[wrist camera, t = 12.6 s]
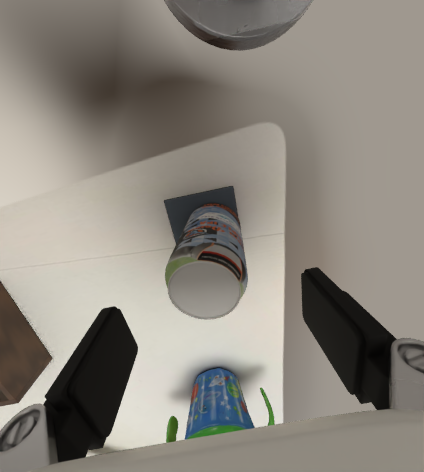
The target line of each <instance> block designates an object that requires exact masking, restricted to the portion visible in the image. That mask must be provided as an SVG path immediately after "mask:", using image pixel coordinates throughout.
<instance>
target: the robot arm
mask: <svg viewBox="0 0 424 472" xmlns="http://www.w3.org/2000/svg"><path fill="white" fill-rule="evenodd" d="M301 282H302V311H303V318H304V321H305V323H306V324H307V326H308V327H309V329H310V331H311V332H312V334H313V335H314V337H315V339H316V340H317V342H318V343H319V345H320V347H321V348H322V350H323V351H324V353H325V355H326V356H327V358H328V360H329V361H330V363H331V364H332V366H333V368H334V369H335V371H336V372H337V374H338V376H339V377H340V379H341V381H342V382H343V384H344V385H345V387H346V389H347V390H348V392H349V393H350V394H352V395H353V394H355V396H356V397H357V399H358V400H359V402H360V403H361V404H363V403H369V402H372V404H373V405H374V406H375V408H376V409H377V410H375V411H362V412H355V413H348V414H341V415H335V416H327V417H320V418H314V419H308V420H301V421H295V422H289V423H282V424H276V425H270V426H264V427H258V428H252V429H246V430H240V431H234V432H228V433H222V434H216V435H210V436H204V437H198V438H192V439H186V440H180V441H175V442H169V443H163V444H157V445H151V446H146V447H140V448H134V449H129V450H123V451H117V452H112V453H106V454H100V455H95V456H90V457H86V454H87V452H88V449H89V450H93V449H99V448H103V446H104V443H105V440H106V437H108V436H109V435H110V433H111V431H112V428H113V425H114V422H115V419H116V416H117V413H118V410H119V407H120V404H121V401H122V398H123V395H124V392H125V389H126V386H127V383H128V380H129V377H130V374H131V371H132V368H133V364H134V361H135V358H136V355H137V352H138V346H137V343H136V341H135V339H134V337H133V335H132V333H131V331H130V329H129V327H128V325H127V323H126V320H125V318H124V316H123V314H122V312H121V310H120V309H117V308H116V307H109V308H104V309H102V310H101V311H100V313H99V314H98V316H97V318H96V319H95V321H94V322H93V324H92V325H91V327H90V328H89V330H88V331H87V333H86V334H85V336H84V337H83V339H82V340H81V342H80V343H79V345H78V346H77V348H76V349H75V351H74V352H73V354H72V356H71V357H70V359H69V360H68V362H67V363H66V365H65V366H64V368H63V369H62V371H61V372H60V374H59V375H58V377H57V378H56V380H55V381H54V383H53V384H52V386H51V387H50V389H49V390H48V392H47V394H46V395H45V398H46V399H47V400H46V401H45V403H44V404H43V405H42V404H34V405H31V406H28V407H27V408H25V409H23V410H22V411H20V412H19V413H18V414H16V415H15V416H14V417H13V418H12V419H11V420H10V421H9V422H8V423H7V424H6V425H5V426H4V427H3V428H2V429H1V431H0V472H424V342H423V341H420V340H416V339H411V338H401V339H396V338H395V337H394V336H393V335H392V334H391V333H389V332H388V331H387V330H386V329H385V328H384V327H383V326H382V325H381V324H380V323H379V322H378V321H377V320H376V319H375V318H374V317H372V316H371V315H370V314H369V313H368V312H367V311H366V310H365V309H364V308H363V307H362V306H361V305H360V304H359V303H358V302H357V301H356V300H354V299H353V298H352V297H351V296H350V295H349V294H348V293H347V292H345V291H342V290H341V289H340V288H339V287H338V286H337V285H336V284H335V283H334V282H333V281H331V280H330V279H329V278H328V277H327V276H326V275H325V274H324V273H323V272H322V271H321V270H320V269H319V268H317V267H316V268H311V269H306V270H305V271H304V273H302V274H301Z"/></svg>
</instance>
